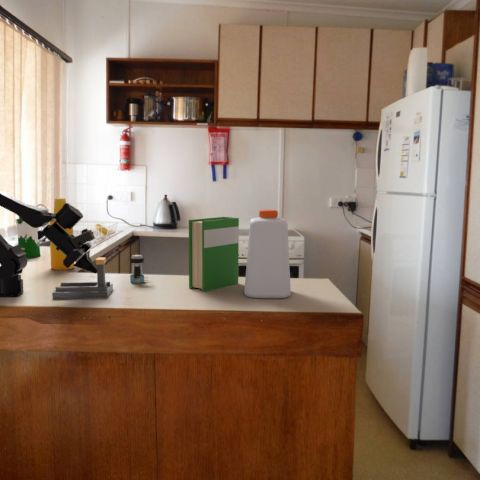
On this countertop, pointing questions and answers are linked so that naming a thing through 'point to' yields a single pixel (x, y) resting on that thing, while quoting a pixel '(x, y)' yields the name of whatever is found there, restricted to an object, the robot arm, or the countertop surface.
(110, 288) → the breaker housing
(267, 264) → the plastic bottle
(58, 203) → the beer bottle
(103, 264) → the lever
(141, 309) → the countertop surface
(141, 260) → the push button
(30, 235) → the milk carton
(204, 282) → the hardback book
